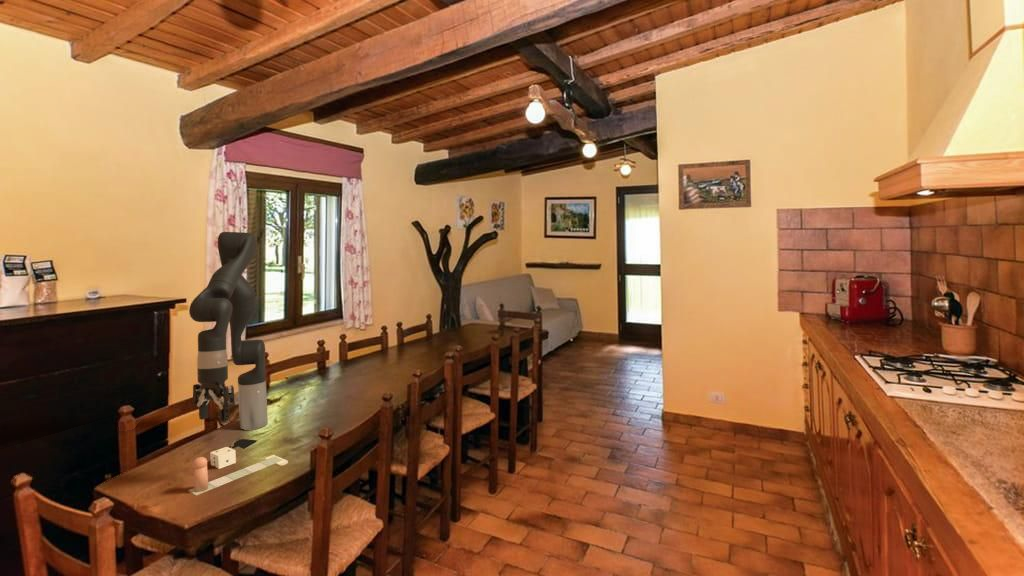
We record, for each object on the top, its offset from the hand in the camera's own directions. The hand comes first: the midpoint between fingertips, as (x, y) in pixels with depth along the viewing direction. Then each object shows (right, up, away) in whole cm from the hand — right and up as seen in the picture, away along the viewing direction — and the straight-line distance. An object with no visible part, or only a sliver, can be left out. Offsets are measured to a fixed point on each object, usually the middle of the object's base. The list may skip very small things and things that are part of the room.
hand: (213, 420), depth 136 cm
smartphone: (-6, -16, +20) cm, 26 cm away
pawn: (+2, -17, -8) cm, 19 cm away
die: (-2, -17, +7) cm, 18 cm away
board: (+7, -17, +1) cm, 19 cm away
